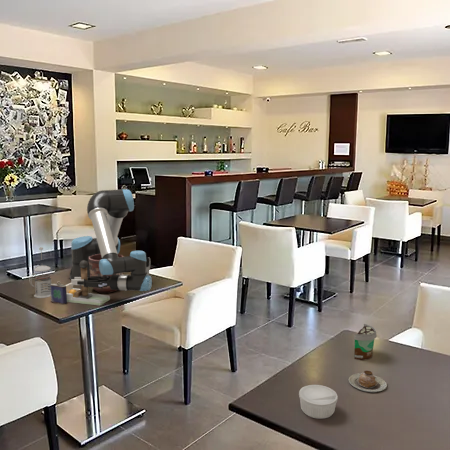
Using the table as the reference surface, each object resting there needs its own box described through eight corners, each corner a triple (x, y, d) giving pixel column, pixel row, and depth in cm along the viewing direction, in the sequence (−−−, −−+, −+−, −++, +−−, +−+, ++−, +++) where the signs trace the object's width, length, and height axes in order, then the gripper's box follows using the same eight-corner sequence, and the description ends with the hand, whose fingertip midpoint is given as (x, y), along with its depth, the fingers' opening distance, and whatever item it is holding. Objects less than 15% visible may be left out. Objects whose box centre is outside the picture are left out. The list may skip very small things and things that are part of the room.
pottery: (103, 297, 244) (102, 262, 241) (83, 290, 255) (81, 256, 253) (130, 289, 258) (130, 256, 255) (110, 283, 269) (109, 251, 266)
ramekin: (324, 426, 134) (325, 408, 133) (290, 411, 141) (291, 394, 140) (344, 409, 142) (344, 393, 141) (311, 396, 149) (311, 380, 148)
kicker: (81, 295, 243) (79, 258, 240) (92, 296, 241) (90, 259, 238) (74, 298, 237) (72, 261, 234) (85, 300, 235) (83, 262, 232)
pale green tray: (71, 295, 246) (70, 282, 245) (110, 299, 241) (109, 285, 239) (60, 301, 238) (59, 287, 236) (100, 305, 232) (99, 291, 230)
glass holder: (131, 286, 263) (130, 259, 260) (143, 279, 276) (142, 253, 274) (145, 287, 260) (145, 260, 258) (157, 280, 273) (156, 254, 271)
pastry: (340, 383, 159) (341, 369, 158) (364, 373, 166) (365, 360, 165) (371, 398, 149) (371, 384, 148) (394, 387, 156) (395, 373, 155)
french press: (57, 294, 248) (55, 247, 243) (35, 299, 239) (32, 250, 235) (48, 290, 254) (45, 244, 250) (26, 295, 246) (23, 247, 242)
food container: (370, 364, 171) (371, 337, 169) (353, 360, 174) (354, 334, 172) (379, 352, 181) (380, 326, 180) (363, 348, 184) (364, 323, 183)
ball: (78, 289, 241) (78, 296, 242) (71, 287, 242) (71, 295, 243) (74, 291, 238) (73, 299, 238) (67, 289, 239) (66, 297, 239)
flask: (50, 302, 236) (48, 280, 234) (54, 300, 239) (53, 279, 237) (64, 304, 232) (63, 283, 231) (69, 303, 235) (68, 281, 233)
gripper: (114, 294, 228) (66, 293, 231) (124, 285, 244) (80, 283, 246) (113, 279, 227) (65, 278, 229) (124, 270, 243) (79, 269, 245)
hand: (73, 280), depth 238 cm, fingers closed on kicker, 3 cm apart
